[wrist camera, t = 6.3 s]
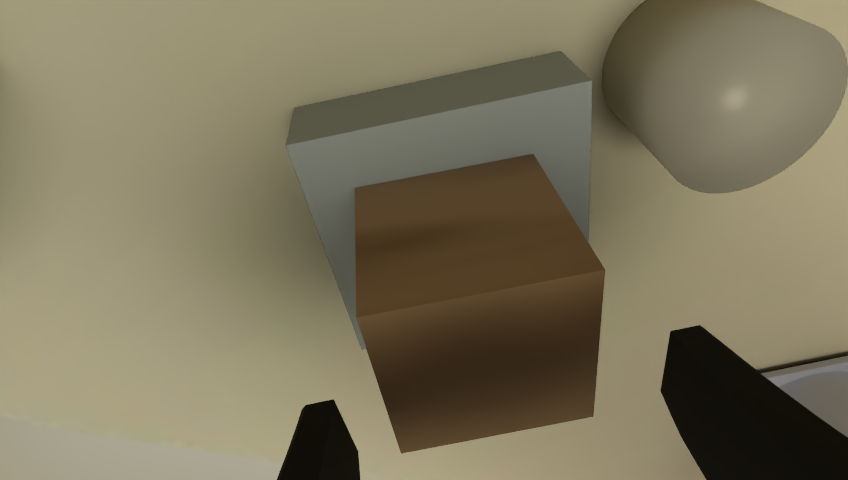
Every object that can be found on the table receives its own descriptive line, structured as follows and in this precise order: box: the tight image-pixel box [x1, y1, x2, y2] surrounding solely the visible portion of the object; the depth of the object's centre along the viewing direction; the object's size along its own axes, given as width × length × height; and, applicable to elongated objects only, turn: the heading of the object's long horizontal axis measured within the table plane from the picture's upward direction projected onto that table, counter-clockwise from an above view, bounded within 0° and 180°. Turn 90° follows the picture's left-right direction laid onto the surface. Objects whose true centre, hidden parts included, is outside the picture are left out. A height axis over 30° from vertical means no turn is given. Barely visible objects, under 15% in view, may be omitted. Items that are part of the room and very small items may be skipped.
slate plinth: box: [286, 51, 592, 349], centre depth 17 cm, size 8×8×3 cm
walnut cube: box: [355, 154, 605, 453], centre depth 14 cm, size 5×5×5 cm
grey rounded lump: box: [602, 0, 848, 193], centre depth 14 cm, size 4×4×4 cm
